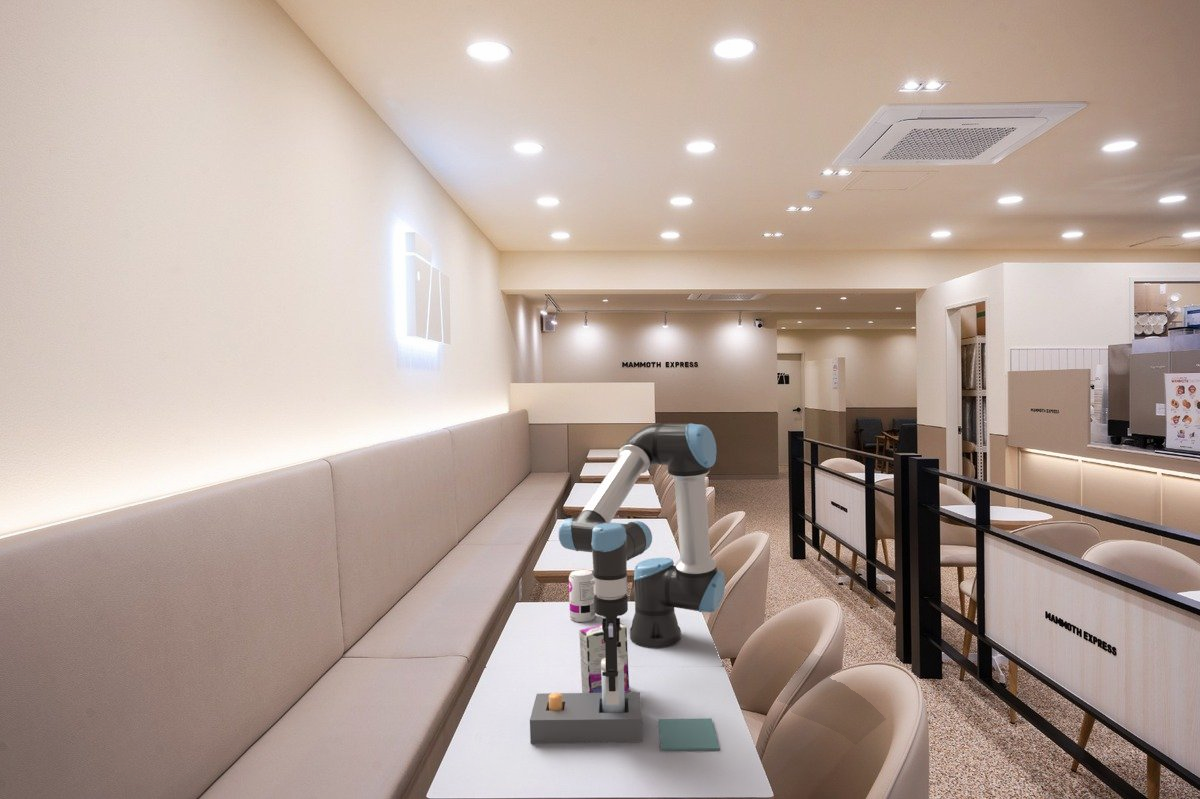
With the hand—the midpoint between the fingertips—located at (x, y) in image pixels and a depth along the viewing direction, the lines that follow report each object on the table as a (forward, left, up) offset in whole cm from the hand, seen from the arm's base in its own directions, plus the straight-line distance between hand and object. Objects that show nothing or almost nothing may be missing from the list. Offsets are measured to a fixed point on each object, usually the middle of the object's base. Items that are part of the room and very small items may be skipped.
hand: (613, 689), depth 150 cm
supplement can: (-40, -55, -9) cm, 69 cm away
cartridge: (0, 0, -9) cm, 9 cm away
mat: (-9, +14, -9) cm, 18 cm away
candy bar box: (-10, -13, -9) cm, 19 cm away
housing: (+4, -4, -9) cm, 10 cm away
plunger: (+9, -9, -7) cm, 15 cm away
